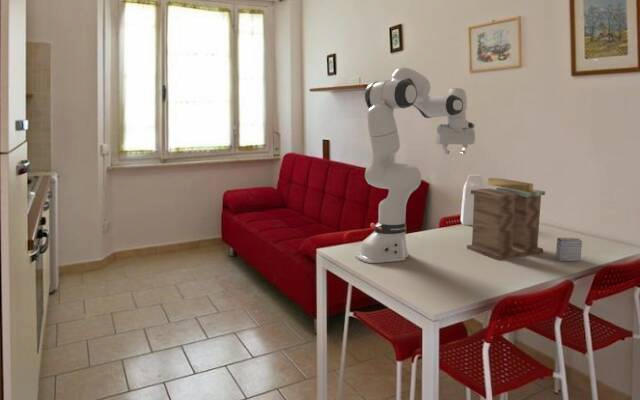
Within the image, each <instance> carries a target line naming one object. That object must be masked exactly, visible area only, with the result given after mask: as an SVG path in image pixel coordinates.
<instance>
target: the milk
mask: <svg viewBox="0 0 640 400" xmlns="http://www.w3.org/2000/svg"><path fill="white" fill-rule="evenodd" d="M477 189H487V188H486V185H485V181H484V179H483V176H482V175H481V174H469V175H468V177H467V179H466V180H465V183H464V184H463V187H462V198H461V199H462V200H461V209H460V210H461V211H460V223H461V224H462V226H473V210H474V194H471V190H477Z"/></svg>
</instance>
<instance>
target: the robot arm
mask: <svg viewBox="0 0 640 400" xmlns="http://www.w3.org/2000/svg"><path fill="white" fill-rule="evenodd" d="M430 92H431V83H430V81H429V79H428V78H427V77H426V76H424V75H423V74H421V73H419V71H416V70H415V69H412V68H409V67H406V66H405V67H404V66H402V67H399V68H397V69H396V70H395V71H393V73H392V75H391V78H390V79H387V80H381V81H374V82H372V83H369V84H368V85H367V87H366V89H365V92H364V101H365V103H366V106H367V108H368V110H367V117H366V118H367V129H368V133H369V139H370V144H371V150H372V157H371V162H370V163H369V164H368V165H367V167H366V168H365V172H364V178H365V181H366V182H367V184H368V185H370V186H372V187H375V188H378V189H385V190H388V193H387V196H386V198H384V199H383V200H381V201H380V202H379V203H378V221H377V222H376V223H374V222H371V223H370V225H369V226H370V228H372V229H374V231H373V232H372V233H371V234H370V235H368V236H367V237H366V238H365V239H363V240H362V242H361V245H360V251H357V252H355V257H356V258H357V259H358V260H359V259H360V261H361V260H362V261H361V262H365V263H367V264H378V263H390V262H404V261H406V258H409V251H408V248H407V247H408V246H407V237H406V234H407V222H406V214H407V213H406V212H407V211H406V210H407V203H408V200H409V198H410V196H411V194H412V193H413V192H415V191H416V190H417V189H418V188H419V187H420V185H421V183H422V173H421V171H420V169H419V168H418V166H414V165H411V164H408V163H400V162H399V163H398V162H395V161H394V155H396V154H397V153H398V151H400V147H401V142H400V137H399V132H398V128H397V123H396V119H395V116H394V111H395V110H396V109H407V108H410V107H412V106H413V107H414V108H416V109H417V110H418V111H419V113H420V114H421V116H422V117H424V118H425V119H431V118H440V117H441V118H442V117H446V122H445V123H441V124H438V126H437V127H436V129H437V130H436V134H435V135H436V137H435V143H436V145H442V149H443V151H444V153H443V155H449V154H450V150H448V145H462V149H461V150H460V153H459V154H460V155H466V151H467V150H468V147H469V146H468V145H474V144H475V141H476V131H475V126H476V124H475V123H473V122H471V121H468V120H467V115H466V111H467V104H468V103H467V92H466V90H464V89H463V88H459V87H458V88H457V87H453V88H450V89H449V90H448V93H446V94H440V95H429V94H430Z"/></svg>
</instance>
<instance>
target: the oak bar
mask: <svg viewBox="0 0 640 400" xmlns="http://www.w3.org/2000/svg"><path fill="white" fill-rule="evenodd" d="M487 185H488V186H493V187H497V188H498V187H504V188H509V189H514V190H520V191H525V192H526V191H533V189H534V183H531V182H526V181H519V180H512V179H506V178H500V177H489V178H488V180H487Z"/></svg>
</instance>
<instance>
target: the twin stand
mask: <svg viewBox="0 0 640 400" xmlns="http://www.w3.org/2000/svg"><path fill="white" fill-rule="evenodd" d="M471 194H474V210H473V225H472V235H471V239H472V240H471V244H467V245H466V249H467V250H470V251H471V252H472V251H473V252H475V253H477V254H480V255H483V256H485V257H488V258H490V259H494V260H496V261H497V260H502V259H503V260H504V259H509V258H515V257H522V256H526V255H527V256H528V255H532V254H540V253H544V252H543V251H544V248H543V247H538V246H539V244H538V243H539V233H540V232H539V231H540V215H541V203H542V201H541V200H542V196H545V195H546V191H545V190H539V189H534V188H533V191H526V192H525V191H520V190H514V189H509V188H504V187H498V186H497V187H496V189H495V188H491V187H490V188H486V189H477V190H471Z"/></svg>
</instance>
